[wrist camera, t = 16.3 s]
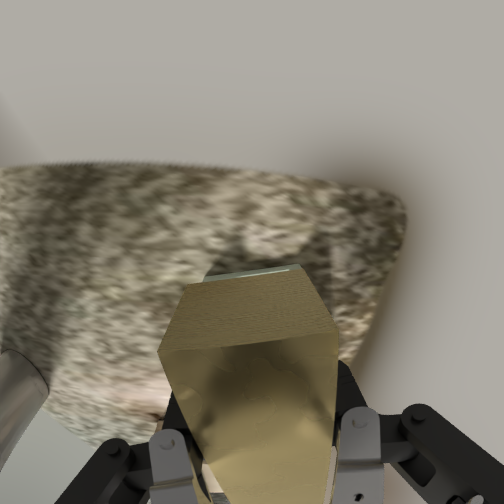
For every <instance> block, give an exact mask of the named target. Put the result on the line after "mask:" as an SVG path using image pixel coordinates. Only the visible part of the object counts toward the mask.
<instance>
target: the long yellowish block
mask: <svg viewBox="0 0 504 504" xmlns="http://www.w3.org/2000/svg"><path fill="white" fill-rule="evenodd" d="M338 345H339V329H338V327H337V325H336V324H335V322H334V320H333V318H332V317H331V315H330V313H329V311H328V310H327V308H326V306H325V304H324V303H323V301H322V299H321V298H320V296H319V294H318V292H317V291H316V289H315V287H314V286H313V284H312V282H311V281H310V279H309V277H308V275H307V274H306V272H305V270H304V269H303V268H302V269H295V270H289V271H282V272H275V273H268V274H261V275H254V276H247V277H239V278H232V279H224V280H217V281H209V282H201V283H194V284H187V286H186V289H185V291H184V293H183V295H182V297H181V299H180V302H179V304H178V306H177V308H176V310H175V312H174V315H173V317H172V319H171V321H170V324H169V326H168V328H167V330H166V333H165V335H164V337H163V339H162V342H161V344H160V346H159V349H158V351H157V353H158V355H159V358H160V361H161V363H162V366H163V369H164V371H165V374H166V376H167V379H168V381H169V384H170V386H171V389H172V391H173V393H174V396H175V398H176V400H177V403H178V405H179V407H180V409H181V412H182V414H183V416H184V418H185V420H186V422H187V425H188V427H189V429H190V431H191V433H192V435H193V437H194V439H195V441H196V443H197V445H198V447H199V449H200V451H201V453H202V455H203V457H204V458H205V460H206V462H207V464H208V466H209V468H210V469H211V471H212V473H213V475H214V477H215V478H216V480H217V482H218V483H219V485H220V487H221V489H222V490H223V492H224V494H225V495H226V497H227V498H228V500H229V502H230V503H231V504H323V502H324V497H325V491H326V485H327V478H328V471H329V464H330V456H331V448H332V439H333V429H334V419H335V406H336V392H337V374H338Z"/></svg>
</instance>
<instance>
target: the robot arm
mask: <svg viewBox="0 0 504 504" xmlns="http://www.w3.org/2000/svg"><path fill="white" fill-rule="evenodd" d="M47 398H48V388H47V385H46V383H45V381H44V379H43V378H42V376H41V375H40V373H39V372H38V371H37V369H36V368H35V367H34V366H33V365H32V364H31V363H30V362H29V361H28V360H27V359H26V358H25V357H23V356H22V355H21V354H19V353H18V352H16V351H13V350H6V351H5V352H4V353H3V354H2V355H1V356H0V472H1V470H2V468H3V466H4V464H5V463H6V461H7V459H8V458H9V456H10V454H11V453H12V451H13V449H14V448H15V446H16V444H17V443H18V441H19V440H20V438H21V437H22V435H23V433H24V432H25V430H26V429H27V427H28V426H29V424H30V423H31V421H32V420H33V418H34V416H35V415H36V414H37V412H38V411H39V409H40V408H41V406H42V405H43V403H44V402H45V400H46V399H47ZM332 446H335V447H336V450H337V457H336V465H335V473H334V480H333V487H332V493H331V498H330V503H329V504H383V499H384V464H383V463H390V464H391V465H392V466H393V468H395V470H396V471H397V472H398V473H399V474H400V475H401V476H402V477H403V478H404V479H405V480H406V481H407V482H408V484H410V486H411V487H412V488H413V489H414V490H415V491H416V492H417V493H418V494H419V495H420V496H421V497H422V498H423V499H424V500H425V501H426V502H427V503H428V504H504V465H502V464H501V463H500V462H499V461H497V460H496V459H495V458H494V457H492V456H491V455H490V454H489V453H487V452H486V451H485V450H483V449H482V448H481V447H480V446H479V445H477V444H476V443H475V442H474V441H472V440H471V439H470V438H469V437H467V436H466V435H465V434H463V433H462V432H461V431H460V430H459V429H457V428H456V427H455V426H454V425H452V424H451V423H450V422H449V421H447V420H446V419H445V418H443V417H442V416H441V415H440V414H439V413H437V412H436V411H435V410H433V409H432V408H431V407H430V406H428V405H425V404H413V405H411V406H408V407H407V408H406V409H405V410H404V411H403V413H402V414H398V415H381V414H377V412H376V411H374V410H373V409H371V408H369V407H368V406H367V405H366V402H365V400H364V398H363V396H362V394H361V391H360V390H359V387H358V385H357V383H356V382H355V379H354V377H353V376H352V373H351V371H350V369H349V367H348V366H347V365H346V364H345V363H343V362H342V361H341V360H338V374H337V392H336V406H335V419H334V429H333V439H332ZM203 461H206V460H205V458H204V457H203V455H202V453H201V451H200V449H199V447H198V445H197V443H196V441H195V439H194V437H193V435H192V433H191V431H190V429H189V427H188V425H187V422H186V420H185V418H184V416H183V414H182V412H181V409H180V407H179V405H178V403H177V400H176V398H175V396H174V393H173V391H172V393H171V398H170V400H169V405H168V407H167V411H166V415H165V418H164V422H163V426H162V429H161V430H160V431H158V432H156V433H155V434H154V435H153V436H152V437H151V438H150V440H149V442H146V443H142V444H136V445H131V446H129V445H128V443H127V442H126V441H124V440H122V439H119V438H113V439H109V440H107V441H105V442H104V443H102V445H101V446H100V447H99V448H98V449H97V451H96V452H95V453H94V454H93V456H92V457H91V458H90V459H89V461H88V462H87V463H86V465H85V466H84V467H83V468H82V470H81V471H80V472H79V473H78V475H77V476H76V477H75V478H74V480H73V481H72V482H71V483H70V485H69V486H68V487H67V489H66V490H65V491H64V492H63V493H62V495H61V496H60V497H59V498H58V500H57V501H56V502H55V503H54V504H147V502H148V500H149V499H151V504H214V503H213V500H212V497H211V494H210V492H209V489H208V486H207V483H206V479H205V476H204V473H203V471H202V462H203Z"/></svg>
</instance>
